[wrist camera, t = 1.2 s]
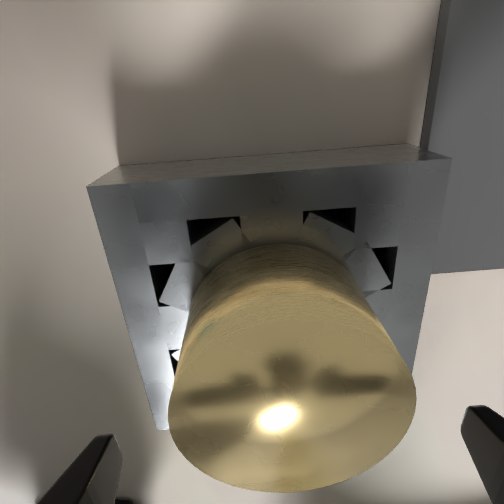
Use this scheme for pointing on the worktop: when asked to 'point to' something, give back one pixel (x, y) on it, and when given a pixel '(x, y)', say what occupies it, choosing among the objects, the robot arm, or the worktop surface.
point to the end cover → (286, 375)
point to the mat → (469, 133)
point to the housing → (267, 235)
